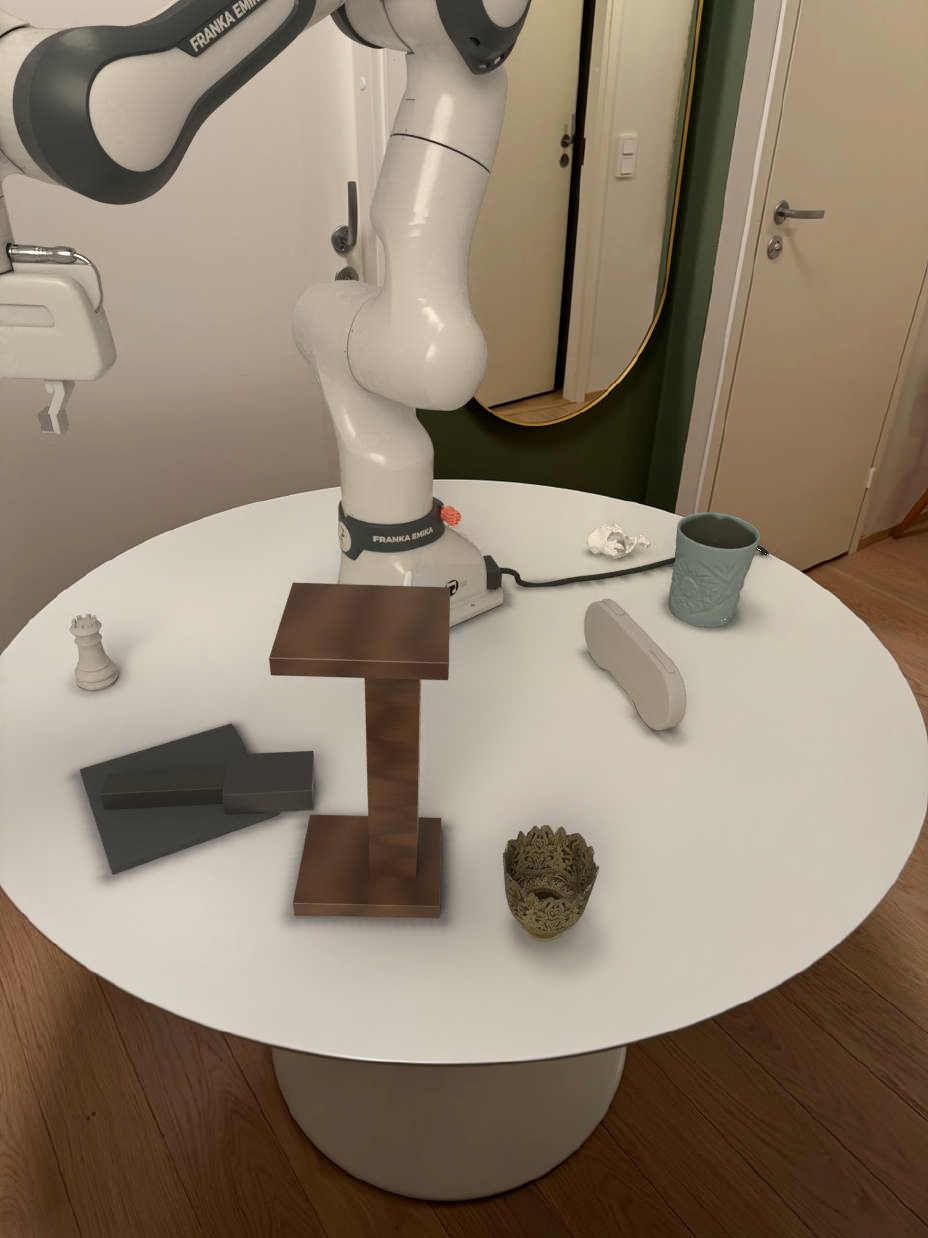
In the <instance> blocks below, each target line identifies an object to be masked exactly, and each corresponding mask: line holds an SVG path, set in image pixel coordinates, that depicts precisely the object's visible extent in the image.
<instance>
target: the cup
mask: <svg viewBox="0 0 928 1238" xmlns="http://www.w3.org/2000/svg"><path fill="white" fill-rule="evenodd" d="M595 853H596V852H595V849H594V847H593V845H589V846H588V844H587V841H586V839H585V838H584V836H582V834H581V833H580V832H579V833H578V832H575V833H571V834H567V830H566V828H565V827H563V826H562V825H561V826H559V827H558V829H557V830H556V831H555V832H554V830H553V829H552V827H551V825H548V824H544V825H541V826H540V827H538V825H537V824H535V825H534V826H533V827H532V828H531V829H530V830H529V831H527V832H526V834H525V833H524V832H523V831H522V830H519V831H518V833H517V837H516V838H515V839H514V838H511V839H508V840H507V842H506V844H505V847H504V852H503V853H502V863H503V864H502V865H503V881H504V891H505V898H506V902H507V905H508V909H509V911H510V913H511V915H512V916H513V917H514V919H515V920H516V921H517V922H518V924H520V925H521V927H522V928H523V930H524V931H525V933H526V934H527V935H528V936H530V937H531V938H533V939H535V940H538V941H551V940H553V939H555V938H557V937H558V936H559V935H560V934H561V933H563V932H566V931H568V930H569V929H571V928H572V927H573V926H574V925H575V924H576V923H577V922H578V921H579V920H580V918H581V917H582V915H583V914H584V911H585V910H586V908H587V905H588V903H589V900H590V898H591V894H592V892H593V889H594V885H595V884H596V880H597V877H598V874H599V872H600V865H597V864H596V861H595V860H594V858H595V857H594V856H595Z"/></svg>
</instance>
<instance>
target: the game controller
mask: <svg viewBox="0 0 928 1238" xmlns="http://www.w3.org/2000/svg"><path fill="white" fill-rule="evenodd" d="M583 630H584V638H585V639H584V640H585V643H586V647H587V650H588V653H589V655H590V656H591V658H592V660H593V662H594V663H595V664H596V665H597V666H598V667H599V668H601V669H602V670H606V671H607V672H609V673H610V675H611V676H612V677H613V678H614V679H615V680H616V682H617V683H618V684H619V685H620V686H621V688H622V689H623V690H624V691H625V692H626V694H627V695H628V696H629V697H630V698H631V700H632V701H633V704H634V706H635V708H636V711H637V713H638V715H639V716H640V718H641V720H642V721H643V722H644V723H645V724H646V725H647V727H649V728H651V729H652V730H655V731H662V730H667V729H671V728H675V727H677V726H679V725H680V724H681V722H682V721H683V720H684V718H685V716H686V710H687V691H686V685H685V683H684V682H685V681H684V679H683V677H682V674H681V672H680V670H679V668H678V666H677V665H676V663H675V662H674V661H673V660H672V658H671V657H669V655H668V654H667V653H666V652H665V651H664V650H663V649H662V648H661V646H659V645H658V644H657V642H656V641H654V639H653V638H652V637H651V636H650V635H649V634H648V633H647V632H646V631H645V630H644V629H643V628H642V627H641V626H640V625H639V624H638V623H637V622H636V621H635V620H634V618H632V616H631V615H630V614H628V612H626V610H625V608H623V607H622V606H621V605H620V604H619V603H617V602H616V601H615V600H613V599H611V598H602V599H601V600H598V601H593V602H591V603H590V604H589V605H588V607H587V609H586V611H585V614H584V622H583Z"/></svg>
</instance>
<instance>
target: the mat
mask: <svg viewBox="0 0 928 1238" xmlns="http://www.w3.org/2000/svg"><path fill="white" fill-rule="evenodd" d="M230 754H249V752H248V750H247V748H246V747H245V745H244V743H243V741H242V740H241V737H240V735H239V734H238V732H237V730H236V728H235V727H234V725H233V723H232V722H231V723H228V724H225V725H221V726H218V727H215V728H212V729H208V730H204V731H201V732H198V733H194V734H191V735H188V736H185V737H181V738H178V739H175V740H171V741H168V742H165V743H161V744H158V745H154V746H151V747H148V748H145V749H142V750H138V751H135V752H132V753H129V754H125V755H121V756H118V757H116V758H113V759H108V760H106V761H105V760H104V761H101V762H98V763H96V764H92V765H89V766H85V767H83V768H80V769H79V773H80V777H81V780H82V782H83V786H84V789H85V793H86V795H87V798H88V802H89V805H90V808H91V812H92V815H93V818H94V822H95V823H96V828H97V830H98V833H99V836H100V840H101V843H102V847H103V849H104V853H105V856H106V859H107V862H108V865H109V868H110V872H111V874H112V875H116V874H117V873H120V872H124V871H126V870H130V869H132V868H134V867H137V866H140V865H143V864H146V863H148V862H151V861H154V860H157V859H160V858H162V857H166V856H168V855H171V854H174V853H176V852H179V851H181V850H184V849H188V848H191V847H193V846H195V845H198V844H202V843H205V842H207V841H210V840H213V839H216V838H218V837H221V836H224V835H226V834H230V833H232V832H235V831H238V830H241V829H243V828H246V827H249V826H251V825H254V824H255V825H256V824H257V823H260V822H263V821H265V820H268V819H272V818H275V817H277V816H279V815H280V812H265V813H247V814H228V815H225V810H224V803H223V804H204V805H185V806H166V807H147V808H128V809H109V810H104V808H103V804H102V800H101V796H100V793H101V790H102V787H103V784H104V781H105V777H106V775H112V774H132V773H153V772H174V771H195V770H215V769H227V763H228V756H229V755H230Z"/></svg>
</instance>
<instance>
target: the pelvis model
mask: <svg viewBox="0 0 928 1238" xmlns="http://www.w3.org/2000/svg"><path fill="white" fill-rule="evenodd" d="M613 536H618V537H620V538H621V539H622V541H623V544H622V543H618V540H617V539H614V540H609V539H611V537H613ZM586 545H587V548H588V549H589V551H590V552H591V553H592V554H594V555H597V554H598V553H601V554H603V555H605V556H609V557H611V558H613V559H614V560H616V559H620V558H623V557H626V556H627V555H628V554H629V553H631V552H633V549H634V548H635V547H636V546H637V545H639V546H642V547H644V548H645V549H648V548H650V546H651V543H650V542H649V540H648V539H647V537H646V536H645V535H643V534H639V535H638V538H637V537H636V536H630V535H628V534H627V533H626V532H625V531H624V528H623V527H622V526H619V525H618V523H616V522H613V523H612V524H611V525H608V524H606V523H604V522H602V525H601V526H599V527H598V528H596V529H595V530H593V531H592V532H591V533H590V534H589V536H588V538H587V541H586ZM624 545H625V547H624ZM617 549H618V550H621V552H620V551H619V552H618V550H617Z"/></svg>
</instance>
